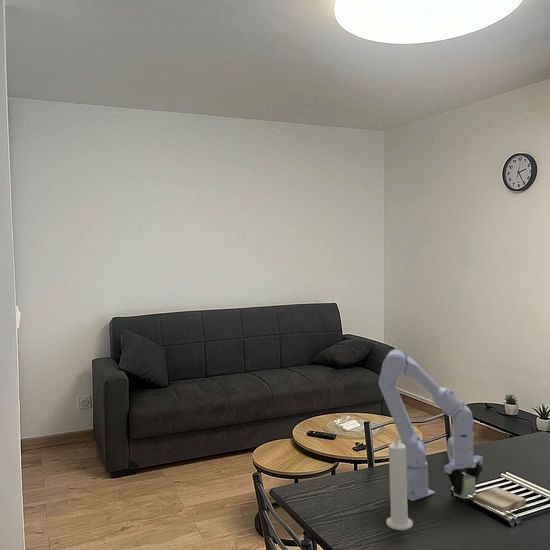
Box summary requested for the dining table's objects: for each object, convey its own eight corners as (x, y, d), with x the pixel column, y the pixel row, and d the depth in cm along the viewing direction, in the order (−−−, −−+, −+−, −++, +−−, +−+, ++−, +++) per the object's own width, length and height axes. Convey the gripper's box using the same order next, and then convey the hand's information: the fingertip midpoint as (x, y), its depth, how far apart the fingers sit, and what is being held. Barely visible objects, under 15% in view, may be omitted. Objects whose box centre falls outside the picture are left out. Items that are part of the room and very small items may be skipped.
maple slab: (502, 518, 158) (502, 507, 158) (473, 505, 167) (473, 495, 167) (525, 508, 163) (525, 498, 163) (496, 496, 172) (496, 486, 172)
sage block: (465, 500, 169) (464, 480, 169) (453, 495, 173) (453, 475, 172) (475, 496, 171) (475, 477, 171) (463, 491, 175) (463, 472, 175)
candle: (394, 515, 161) (391, 428, 160) (417, 522, 156) (414, 432, 155) (381, 525, 156) (378, 435, 154) (405, 533, 151) (402, 440, 150)
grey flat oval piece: (464, 471, 190) (464, 441, 190) (454, 471, 191) (453, 442, 190) (455, 460, 200) (455, 432, 200) (446, 460, 201) (445, 432, 200)
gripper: (456, 455, 164) (458, 502, 165) (490, 445, 172) (491, 489, 172) (438, 449, 170) (439, 493, 171) (471, 439, 178) (472, 482, 178)
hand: (464, 491), depth 172 cm, fingers open, 5 cm apart
